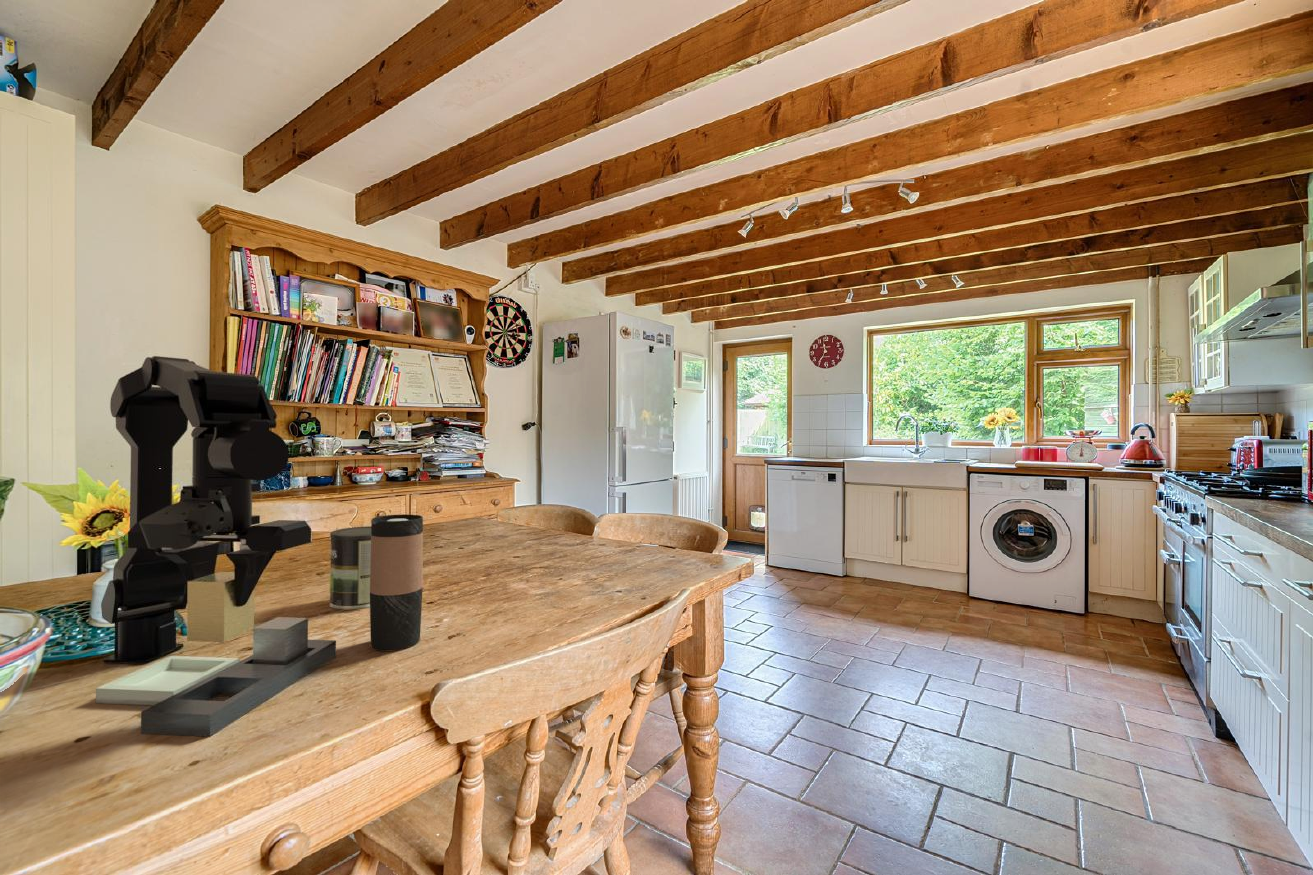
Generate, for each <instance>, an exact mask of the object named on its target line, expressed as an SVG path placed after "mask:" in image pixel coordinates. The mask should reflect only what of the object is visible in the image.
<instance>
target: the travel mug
mask: <svg viewBox="0 0 1313 875" xmlns="http://www.w3.org/2000/svg"><path fill="white" fill-rule="evenodd" d="M370 524H371V561H370V607H369V618H370V619H369V620H370V622H369V629H370V630H369V631H370V647H371V648H372V649H373V650H375V651H380V652H394V651H399V650H400V651H401V650H404V649H409V648H411V647H413V646H416V645H417V644H419V642H420V640H421V629H422V628H421V624H422V604H423V584H424V583H423V580H424V578H423V576H424V574H423V572H424V571H423V570H424V569H423V568H424V566H423V565H424V563H423V562H424V561H423V560H424V553H423V552H424V517H423V516H422V515H419V514H387V515H379V516H376V517H372V518H371V520H370Z"/></svg>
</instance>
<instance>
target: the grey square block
mask: <svg viewBox="0 0 1313 875" xmlns="http://www.w3.org/2000/svg"><path fill="white" fill-rule="evenodd" d="M308 634H309V618H307V617H288V616H287V617H286V616H285V617H284V616H283V617H282V616H280V617H279V616H277V617H275V618H273V619H271V620H268V621H266V622H264V623H261V624H259V625H257V626H254V629H252V655H253V664H265V665H288V664H289V663H291V662H293V661H295V660H296V659H298V658H300V657H302V656H303V655H305V654H307V653H308V640H309V636H308Z"/></svg>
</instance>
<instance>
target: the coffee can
mask: <svg viewBox="0 0 1313 875" xmlns="http://www.w3.org/2000/svg"><path fill="white" fill-rule="evenodd" d="M329 536H330V576H329V578H330V579H329V580H330V581H329V582H330V583H329V587H330V588H329V590H330V591H329V601H330V602H329V606H330V608H333V609H336V610H341V611H342V610H343V611H345V610H346V611H347V610H361V609H370V561H371V526H370V525H369V526H368V525H367V526H352V527H345V528H340V529H335V530H332V531H331V532H330V534H329Z"/></svg>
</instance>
